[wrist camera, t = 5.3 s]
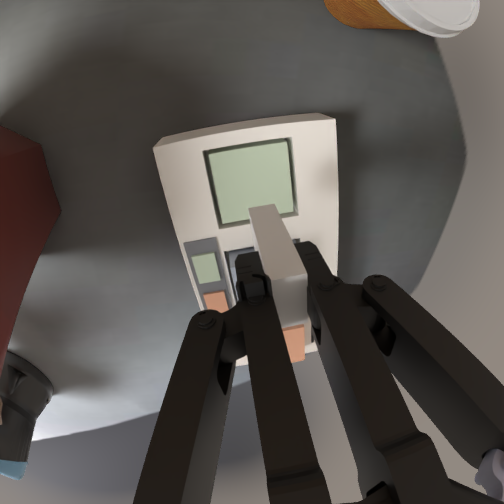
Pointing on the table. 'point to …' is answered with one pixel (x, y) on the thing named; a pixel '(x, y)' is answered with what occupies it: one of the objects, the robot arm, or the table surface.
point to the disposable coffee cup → (407, 15)
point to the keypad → (239, 232)
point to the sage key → (251, 177)
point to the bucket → (21, 223)
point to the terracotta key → (295, 342)
